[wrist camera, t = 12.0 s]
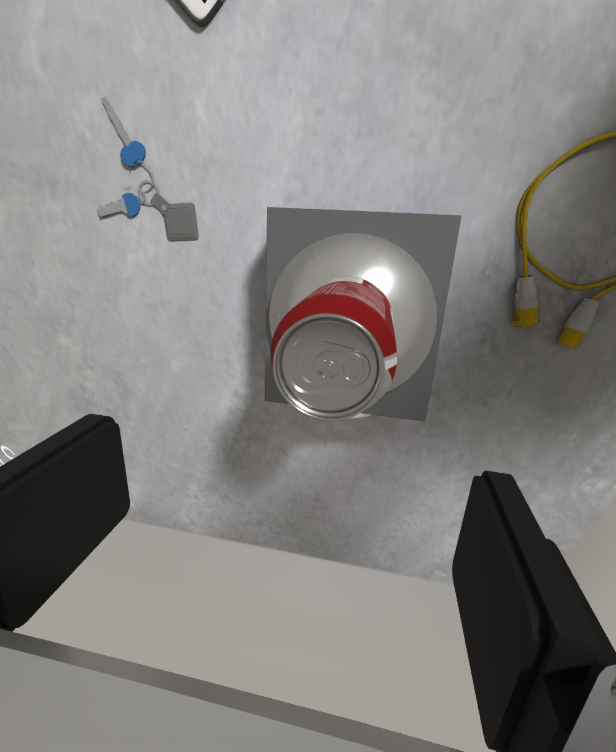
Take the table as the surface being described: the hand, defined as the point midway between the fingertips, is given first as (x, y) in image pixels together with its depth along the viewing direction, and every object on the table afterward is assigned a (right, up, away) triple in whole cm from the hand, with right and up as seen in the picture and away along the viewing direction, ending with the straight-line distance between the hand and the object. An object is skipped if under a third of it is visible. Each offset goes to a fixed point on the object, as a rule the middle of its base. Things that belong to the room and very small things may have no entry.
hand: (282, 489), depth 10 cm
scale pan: (+4, +7, +20) cm, 22 cm away
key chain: (-16, +20, +27) cm, 37 cm away
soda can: (+4, +7, +20) cm, 22 cm away
